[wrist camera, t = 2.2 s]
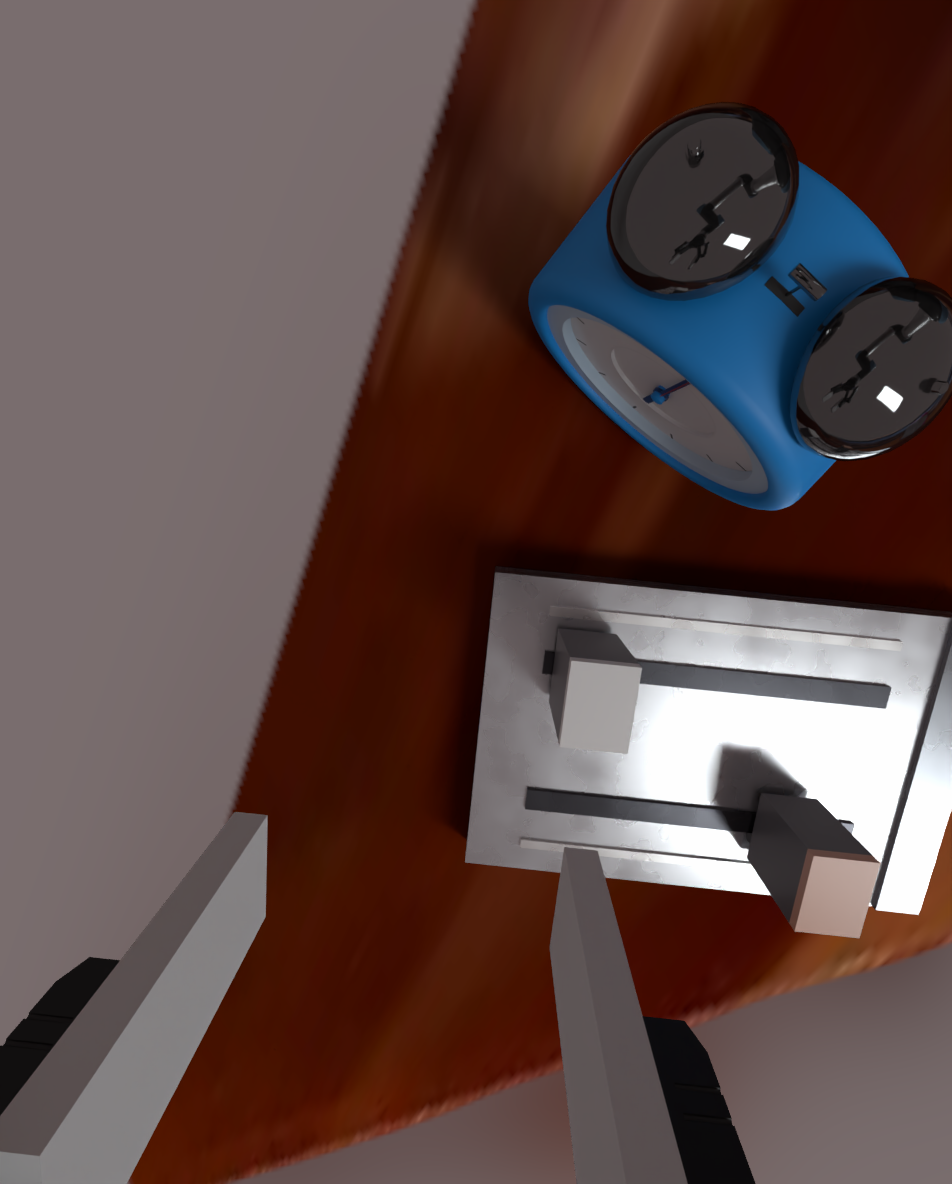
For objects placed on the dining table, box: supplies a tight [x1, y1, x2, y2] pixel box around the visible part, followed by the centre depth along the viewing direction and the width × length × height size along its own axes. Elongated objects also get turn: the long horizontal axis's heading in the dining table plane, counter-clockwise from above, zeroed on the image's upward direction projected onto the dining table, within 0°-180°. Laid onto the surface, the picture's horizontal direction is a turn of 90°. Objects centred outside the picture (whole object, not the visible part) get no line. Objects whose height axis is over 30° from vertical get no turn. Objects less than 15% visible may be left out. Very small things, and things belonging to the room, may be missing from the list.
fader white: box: [549, 628, 642, 754], centre depth 27 cm, size 4×3×5 cm
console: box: [465, 566, 952, 915], centre depth 31 cm, size 17×26×2 cm, turn 85°
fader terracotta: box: [747, 793, 881, 938], centre depth 28 cm, size 4×3×5 cm
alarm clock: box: [528, 102, 952, 510], centre depth 21 cm, size 13×6×15 cm, turn 50°
